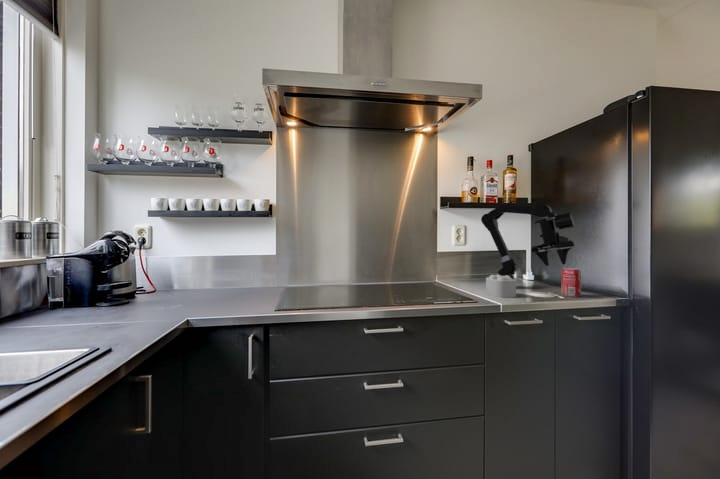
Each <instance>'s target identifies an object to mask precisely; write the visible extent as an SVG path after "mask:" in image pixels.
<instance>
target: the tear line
mask: <svg viewBox="0 0 720 479" xmlns="http://www.w3.org/2000/svg"><path fill="white" fill-rule="evenodd" d="M547 293H551V294H554V293H553V292H547ZM554 295H555V297H558V298H560V299H565V296H561V295H558V294H556V293H555V294H554Z"/></svg>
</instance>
